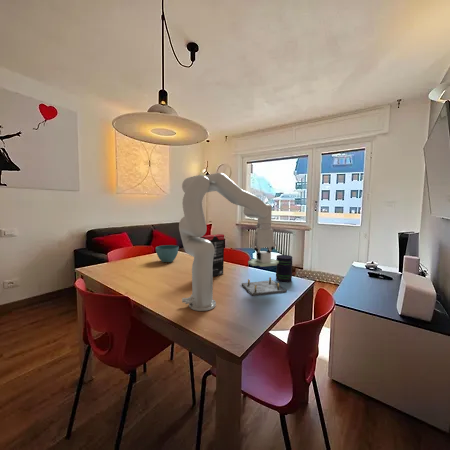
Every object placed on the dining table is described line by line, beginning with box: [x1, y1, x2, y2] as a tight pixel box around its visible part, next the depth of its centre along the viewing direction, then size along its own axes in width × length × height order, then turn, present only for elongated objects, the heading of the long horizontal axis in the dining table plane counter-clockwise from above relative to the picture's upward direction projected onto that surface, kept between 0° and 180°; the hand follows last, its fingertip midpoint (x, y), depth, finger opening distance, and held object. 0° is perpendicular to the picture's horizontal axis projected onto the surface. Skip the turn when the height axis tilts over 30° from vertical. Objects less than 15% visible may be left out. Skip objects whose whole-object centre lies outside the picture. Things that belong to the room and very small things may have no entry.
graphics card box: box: [200, 233, 225, 277], centre depth 150 cm, size 17×7×27 cm, turn 134°
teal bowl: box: [155, 244, 180, 263], centre depth 186 cm, size 18×18×12 cm
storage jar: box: [275, 254, 293, 283], centre depth 143 cm, size 10×10×15 cm
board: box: [247, 250, 279, 267], centre depth 127 cm, size 16×12×6 cm
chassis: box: [241, 276, 287, 297], centre depth 129 cm, size 20×16×4 cm
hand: (263, 258), depth 128 cm, fingers closed on board, 5 cm apart
